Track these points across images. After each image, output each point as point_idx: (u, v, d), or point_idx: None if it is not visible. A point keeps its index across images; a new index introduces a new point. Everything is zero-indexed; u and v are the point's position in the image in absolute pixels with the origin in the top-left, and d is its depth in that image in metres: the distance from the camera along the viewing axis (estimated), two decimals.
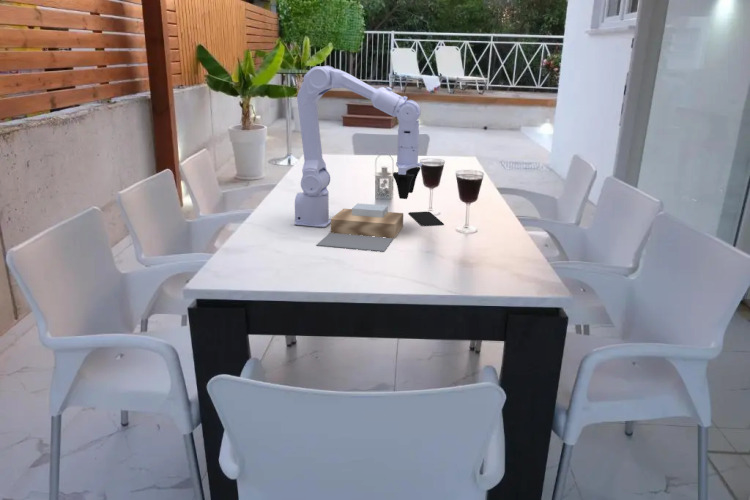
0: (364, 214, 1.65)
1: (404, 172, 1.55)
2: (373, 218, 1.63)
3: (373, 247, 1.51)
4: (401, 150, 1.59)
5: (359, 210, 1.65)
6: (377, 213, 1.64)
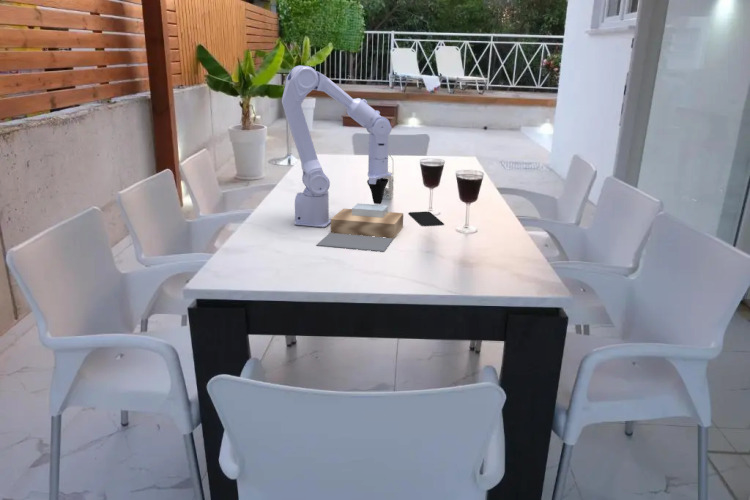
0: (364, 214, 1.65)
1: (374, 182, 1.67)
2: (373, 218, 1.63)
3: (373, 247, 1.51)
4: (371, 161, 1.70)
5: (359, 210, 1.65)
6: (377, 213, 1.64)
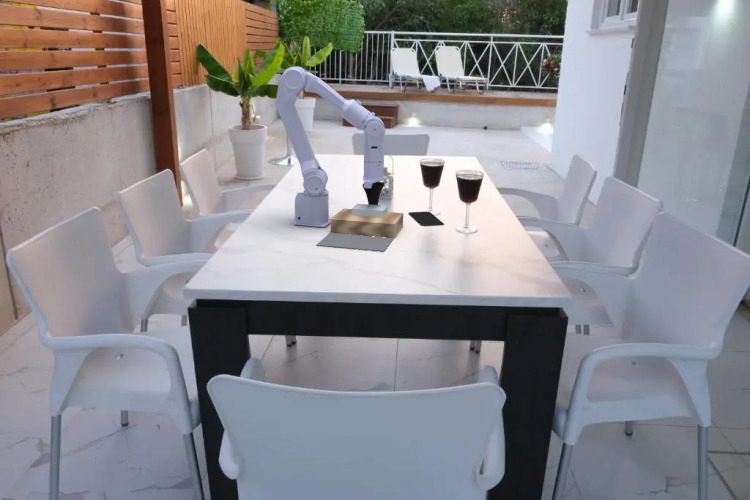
0: (364, 214, 1.65)
1: (369, 186, 1.62)
2: (373, 218, 1.63)
3: (373, 247, 1.51)
4: (367, 164, 1.65)
5: (359, 210, 1.65)
6: (377, 213, 1.64)
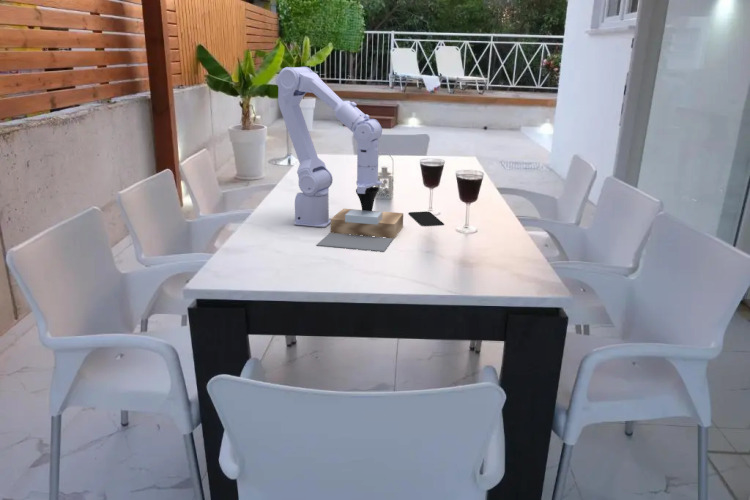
0: (358, 221, 1.59)
1: (363, 191, 1.55)
2: None
3: (373, 247, 1.51)
4: (360, 169, 1.59)
5: (352, 217, 1.59)
6: (372, 220, 1.58)
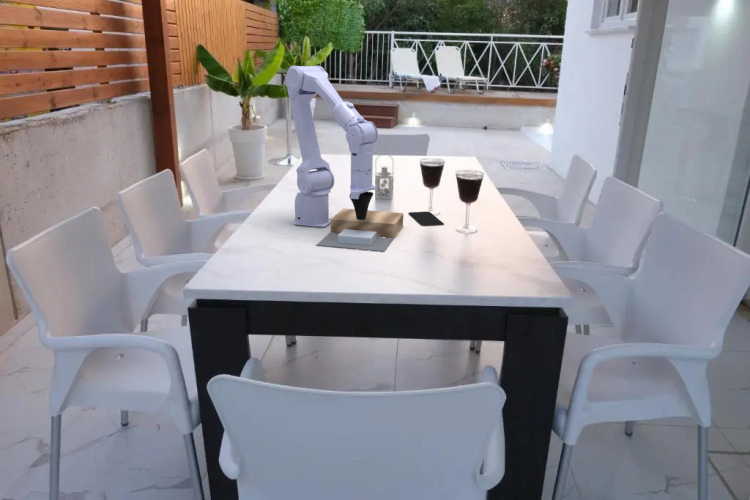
0: None
1: (356, 196, 1.50)
2: (373, 218, 1.63)
3: (373, 247, 1.51)
4: (354, 173, 1.53)
5: None
6: None
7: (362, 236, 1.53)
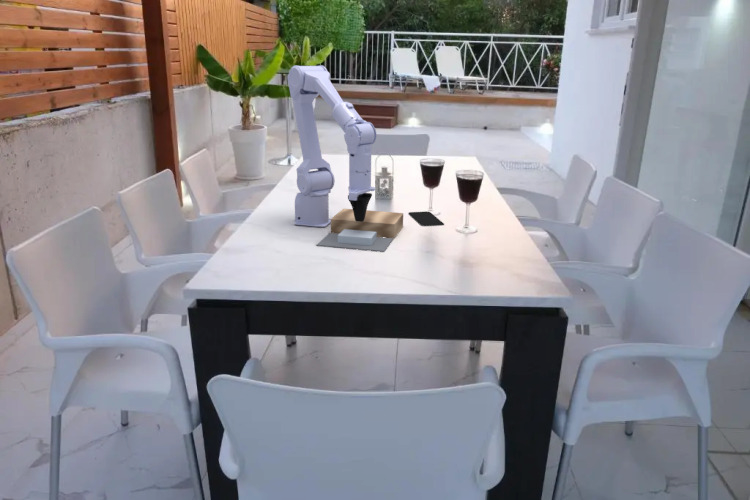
0: None
1: (355, 198, 1.48)
2: (373, 218, 1.63)
3: (373, 247, 1.51)
4: (352, 174, 1.51)
5: None
6: None
7: (362, 236, 1.53)
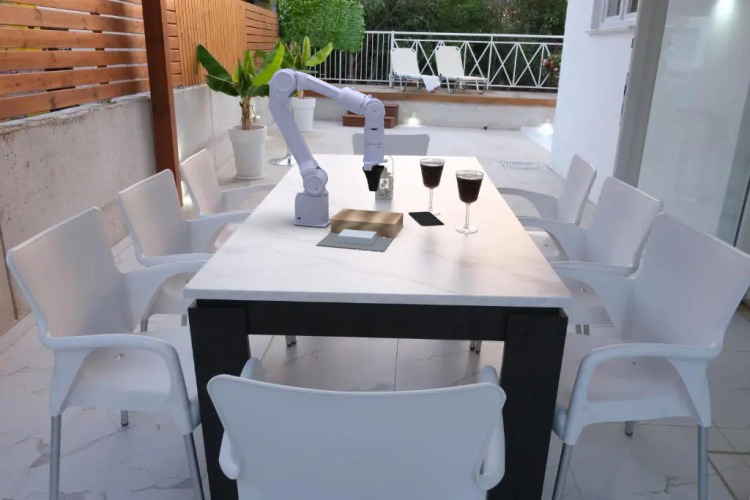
0: None
1: (369, 168, 1.60)
2: (373, 218, 1.63)
3: (373, 247, 1.51)
4: (367, 147, 1.63)
5: None
6: None
7: (362, 236, 1.53)
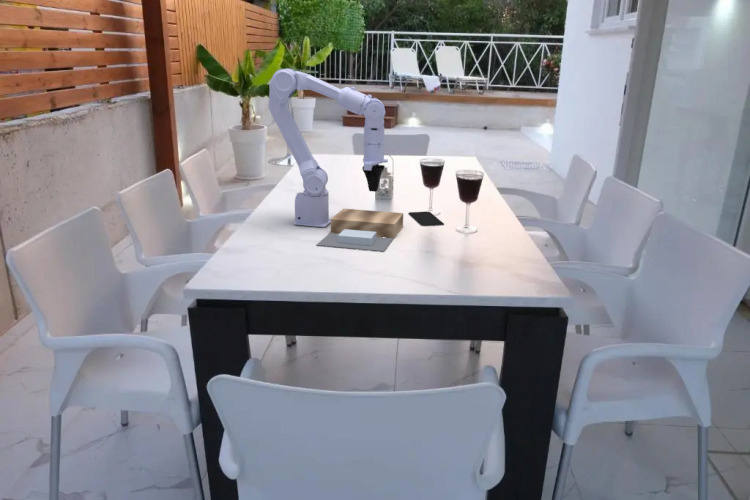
0: None
1: (369, 168, 1.60)
2: (373, 218, 1.63)
3: (373, 247, 1.51)
4: (367, 147, 1.63)
5: None
6: None
7: (362, 236, 1.53)
